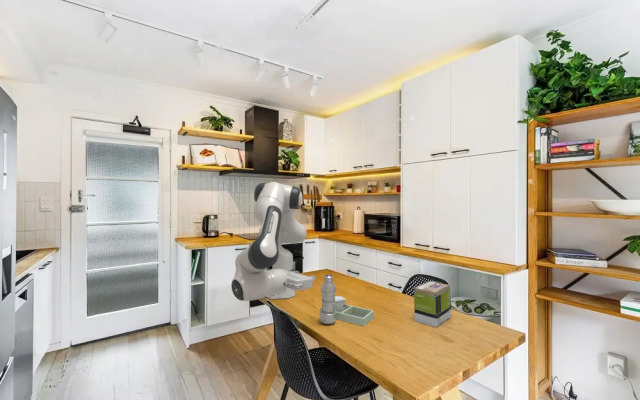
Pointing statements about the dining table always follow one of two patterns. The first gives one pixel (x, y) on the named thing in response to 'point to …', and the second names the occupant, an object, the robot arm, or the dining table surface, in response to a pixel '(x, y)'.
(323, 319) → the plastic bottle
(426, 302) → the tea box
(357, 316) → the tray
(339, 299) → the skincare box
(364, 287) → the dining table surface
